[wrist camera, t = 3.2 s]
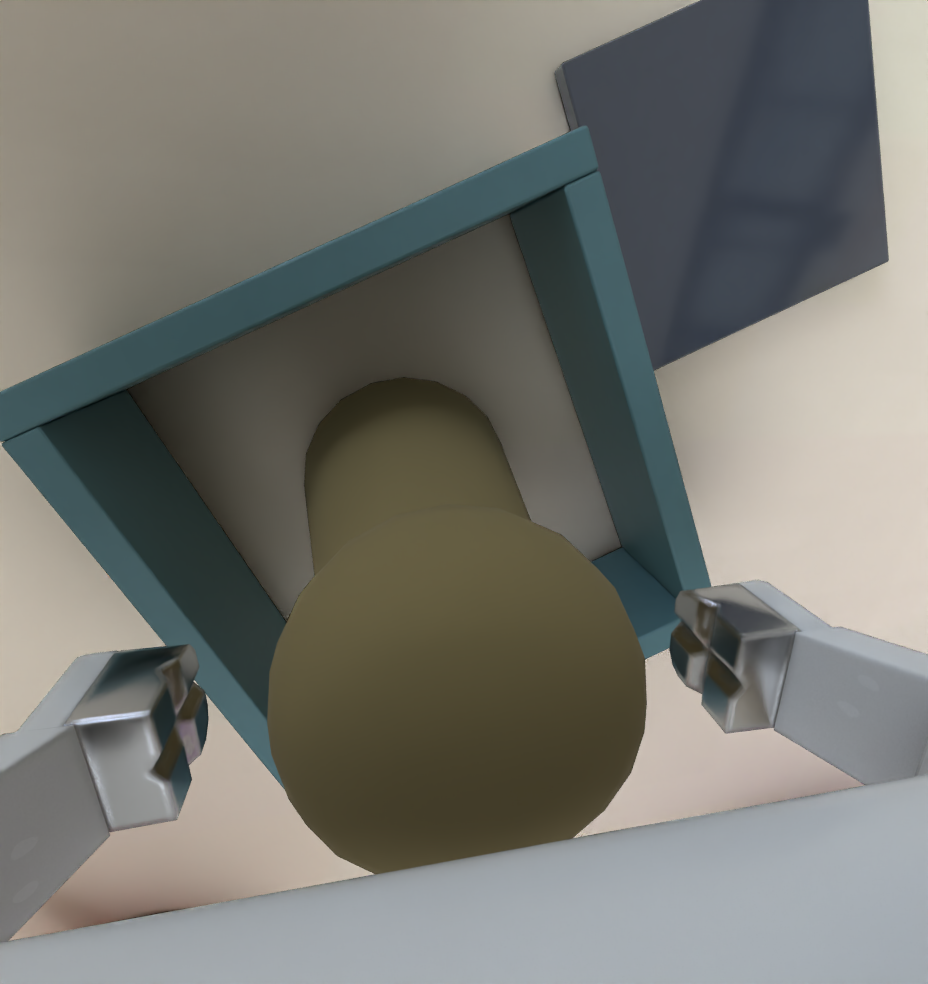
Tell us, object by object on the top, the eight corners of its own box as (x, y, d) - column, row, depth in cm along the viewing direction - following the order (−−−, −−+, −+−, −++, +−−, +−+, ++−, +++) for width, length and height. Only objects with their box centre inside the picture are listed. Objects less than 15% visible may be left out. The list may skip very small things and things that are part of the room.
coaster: (553, 71, 13) (561, 62, 13) (843, -60, 13) (863, -75, 13) (637, 371, 16) (646, 374, 16) (872, 262, 17) (889, 261, 16)
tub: (78, 373, 14) (-33, 405, 10) (525, 169, 14) (588, 122, 10) (319, 710, 19) (308, 820, 15) (647, 555, 19) (722, 623, 15)
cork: (532, 410, 16) (818, 609, 6) (470, 583, 18) (613, 965, 8) (330, 350, 15) (263, 483, 4) (284, 546, 16) (158, 966, 6)
